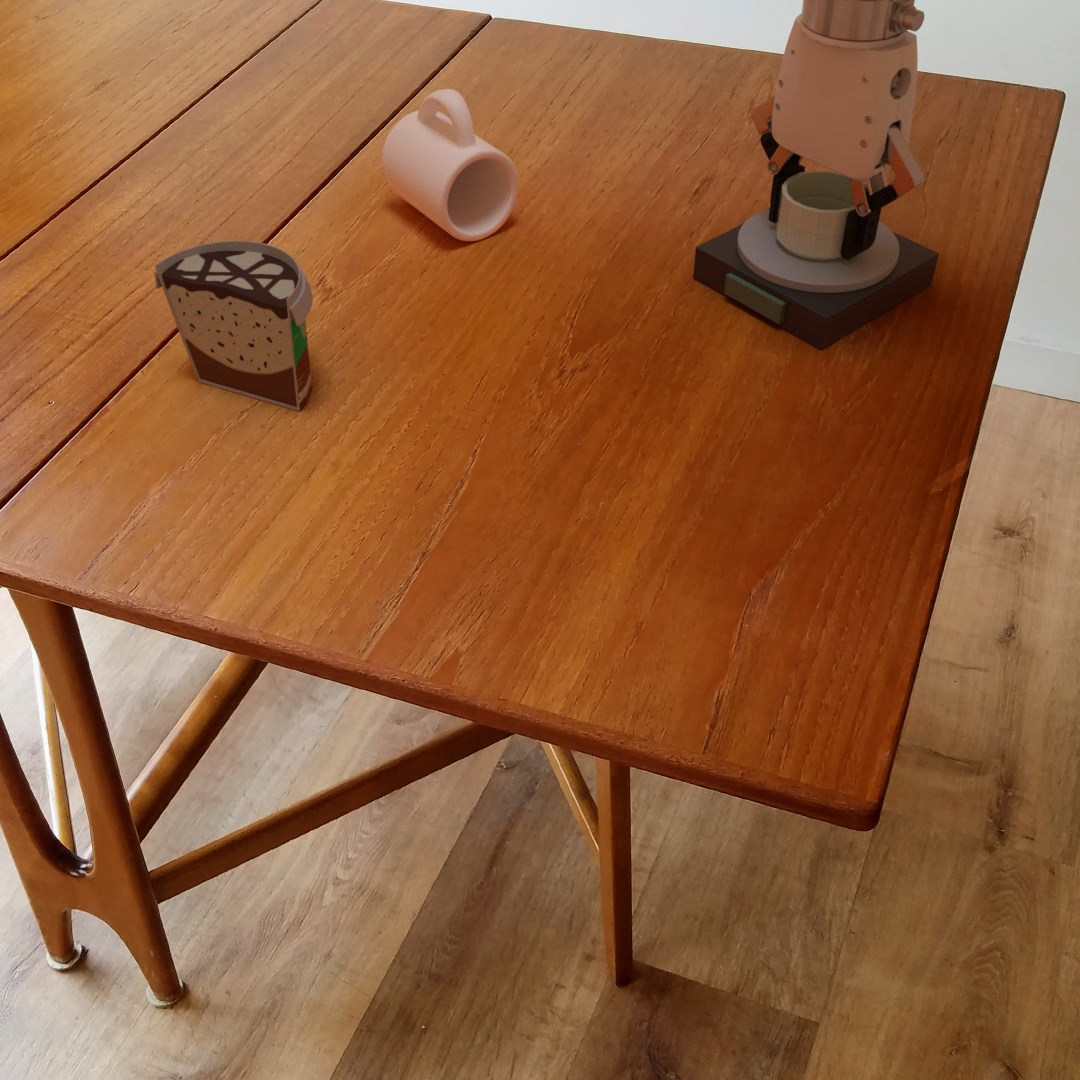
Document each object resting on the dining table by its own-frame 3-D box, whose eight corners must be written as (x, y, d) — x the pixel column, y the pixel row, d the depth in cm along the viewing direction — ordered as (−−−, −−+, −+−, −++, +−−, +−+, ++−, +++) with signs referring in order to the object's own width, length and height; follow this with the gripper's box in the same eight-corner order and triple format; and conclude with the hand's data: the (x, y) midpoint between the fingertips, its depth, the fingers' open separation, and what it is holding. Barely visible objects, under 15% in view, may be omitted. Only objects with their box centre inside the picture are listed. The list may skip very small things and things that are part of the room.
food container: (360, 371, 89) (341, 257, 82) (317, 416, 85) (293, 301, 78) (229, 335, 93) (201, 223, 86) (182, 377, 89) (148, 263, 82)
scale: (931, 285, 96) (941, 244, 93) (816, 353, 90) (824, 311, 87) (802, 222, 104) (809, 182, 101) (688, 280, 97) (691, 240, 95)
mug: (460, 182, 111) (450, 56, 102) (521, 225, 105) (517, 95, 96) (385, 208, 107) (369, 80, 99) (444, 254, 101) (432, 123, 93)
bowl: (877, 243, 94) (887, 192, 91) (822, 273, 91) (831, 221, 88) (812, 211, 98) (820, 161, 94) (758, 239, 95) (764, 189, 91)
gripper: (993, 29, 78) (935, 260, 91) (798, -37, 88) (770, 181, 100) (925, 59, 75) (874, 295, 87) (729, -12, 84) (709, 210, 97)
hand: (819, 232), depth 94 cm, fingers closed on bowl, 6 cm apart
